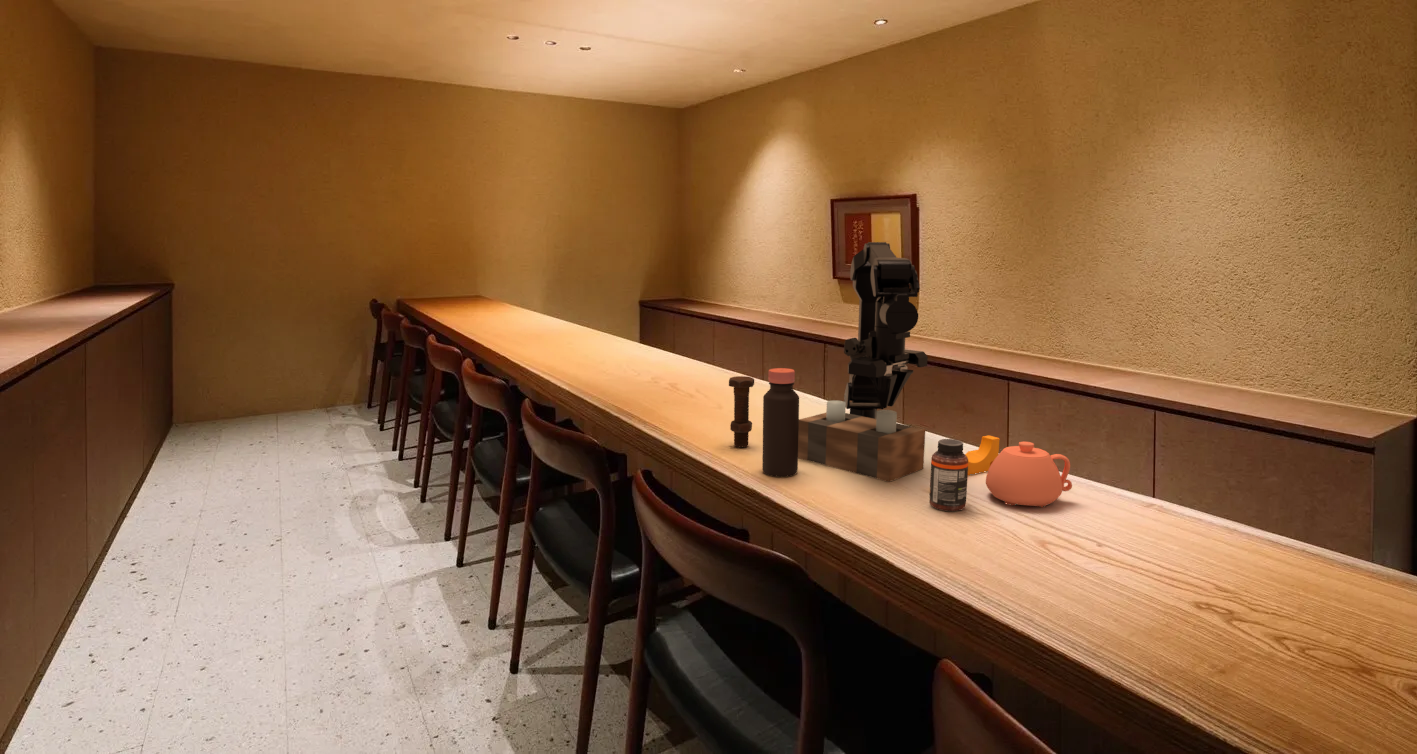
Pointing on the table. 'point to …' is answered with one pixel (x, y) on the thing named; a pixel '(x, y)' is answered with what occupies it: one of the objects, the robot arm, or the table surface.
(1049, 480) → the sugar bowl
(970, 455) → the orange tape dispenser
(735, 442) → the bolt
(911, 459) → the socket block
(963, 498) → the supplement bottle
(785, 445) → the dark brown bottle
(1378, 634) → the table surface
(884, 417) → the peg
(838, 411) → the peg
